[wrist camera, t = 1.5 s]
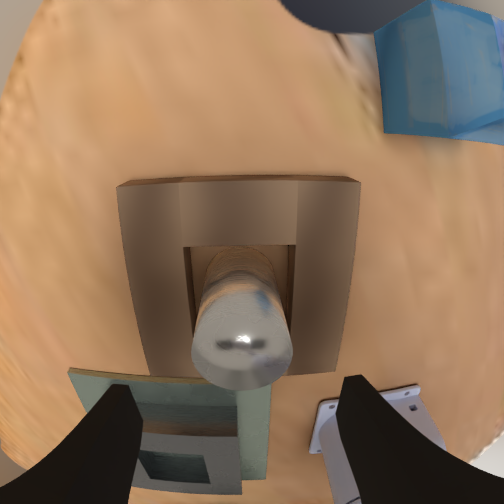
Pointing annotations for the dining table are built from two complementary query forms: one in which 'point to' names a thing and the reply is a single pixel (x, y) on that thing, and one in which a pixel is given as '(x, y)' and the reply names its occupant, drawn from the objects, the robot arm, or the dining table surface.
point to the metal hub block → (190, 431)
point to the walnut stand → (239, 234)
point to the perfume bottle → (443, 73)
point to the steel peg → (241, 323)
